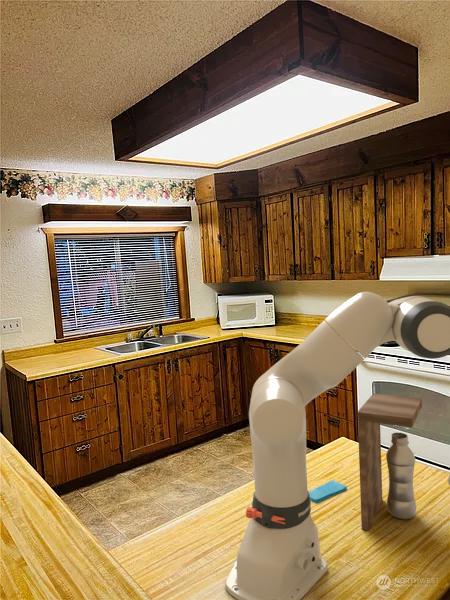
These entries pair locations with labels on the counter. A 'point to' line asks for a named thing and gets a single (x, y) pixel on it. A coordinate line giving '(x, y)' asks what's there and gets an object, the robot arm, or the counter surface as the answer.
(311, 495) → the sponge
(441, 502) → the counter surface
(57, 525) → the counter surface
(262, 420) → the robot arm
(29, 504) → the counter surface
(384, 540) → the counter surface
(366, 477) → the counter shelf
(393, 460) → the plastic bottle
